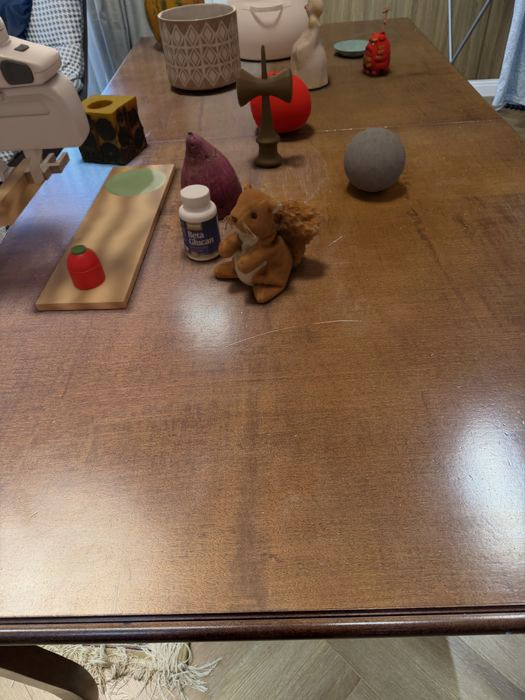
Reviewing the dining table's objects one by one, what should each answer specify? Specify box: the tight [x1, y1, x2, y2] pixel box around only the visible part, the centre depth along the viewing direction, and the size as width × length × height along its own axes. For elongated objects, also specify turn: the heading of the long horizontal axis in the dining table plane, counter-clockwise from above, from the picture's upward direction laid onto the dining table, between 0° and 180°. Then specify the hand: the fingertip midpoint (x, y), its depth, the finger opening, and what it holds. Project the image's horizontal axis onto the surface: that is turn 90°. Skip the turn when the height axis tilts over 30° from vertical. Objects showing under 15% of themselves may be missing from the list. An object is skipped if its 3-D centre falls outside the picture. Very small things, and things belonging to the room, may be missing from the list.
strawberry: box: [67, 245, 105, 290], centre depth 68 cm, size 4×4×5 cm
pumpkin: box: [143, 0, 206, 47], centre depth 156 cm, size 19×19×25 cm
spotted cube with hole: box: [77, 94, 149, 165], centre depth 101 cm, size 10×10×10 cm
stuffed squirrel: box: [212, 182, 324, 304], centre depth 66 cm, size 10×14×13 cm
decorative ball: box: [343, 126, 407, 193], centre depth 83 cm, size 10×10×10 cm
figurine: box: [289, 0, 330, 92], centre depth 123 cm, size 12×10×20 cm
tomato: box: [249, 70, 312, 134], centre depth 104 cm, size 12×14×11 cm
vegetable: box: [180, 129, 243, 221], centre depth 80 cm, size 10×10×15 cm
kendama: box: [235, 45, 293, 168], centre depth 89 cm, size 6×10×20 cm, turn 86°
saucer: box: [333, 39, 369, 58], centre depth 146 cm, size 12×12×2 cm
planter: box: [158, 2, 242, 92], centre depth 128 cm, size 19×19×16 cm
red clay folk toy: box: [362, 3, 392, 77], centre depth 127 cm, size 8×7×15 cm
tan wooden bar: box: [0, 151, 71, 227], centre depth 66 cm, size 18×5×3 cm, turn 179°
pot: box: [226, 0, 309, 62], centre depth 148 cm, size 29×26×16 cm
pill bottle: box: [178, 185, 222, 262], centre depth 72 cm, size 5×5×10 cm
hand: (24, 182), depth 65 cm, fingers closed on tan wooden bar, 2 cm apart
